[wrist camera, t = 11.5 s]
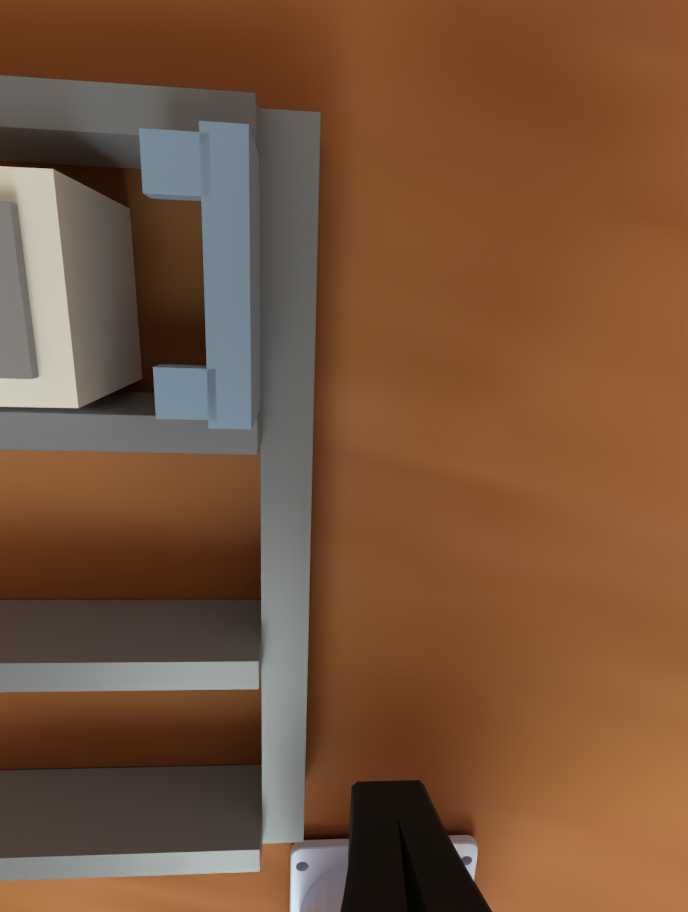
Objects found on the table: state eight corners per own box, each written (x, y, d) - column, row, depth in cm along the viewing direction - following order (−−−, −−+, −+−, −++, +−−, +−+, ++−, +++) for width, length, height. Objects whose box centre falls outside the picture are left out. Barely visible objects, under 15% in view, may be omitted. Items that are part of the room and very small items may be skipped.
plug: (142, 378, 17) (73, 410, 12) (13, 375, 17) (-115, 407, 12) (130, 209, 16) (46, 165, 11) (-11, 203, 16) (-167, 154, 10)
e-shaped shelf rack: (304, 783, 22) (302, 917, 17) (-14, 791, 21) (-109, 935, 16) (318, 141, 16) (323, 69, 11) (-139, 113, 15) (-357, 20, 10)
